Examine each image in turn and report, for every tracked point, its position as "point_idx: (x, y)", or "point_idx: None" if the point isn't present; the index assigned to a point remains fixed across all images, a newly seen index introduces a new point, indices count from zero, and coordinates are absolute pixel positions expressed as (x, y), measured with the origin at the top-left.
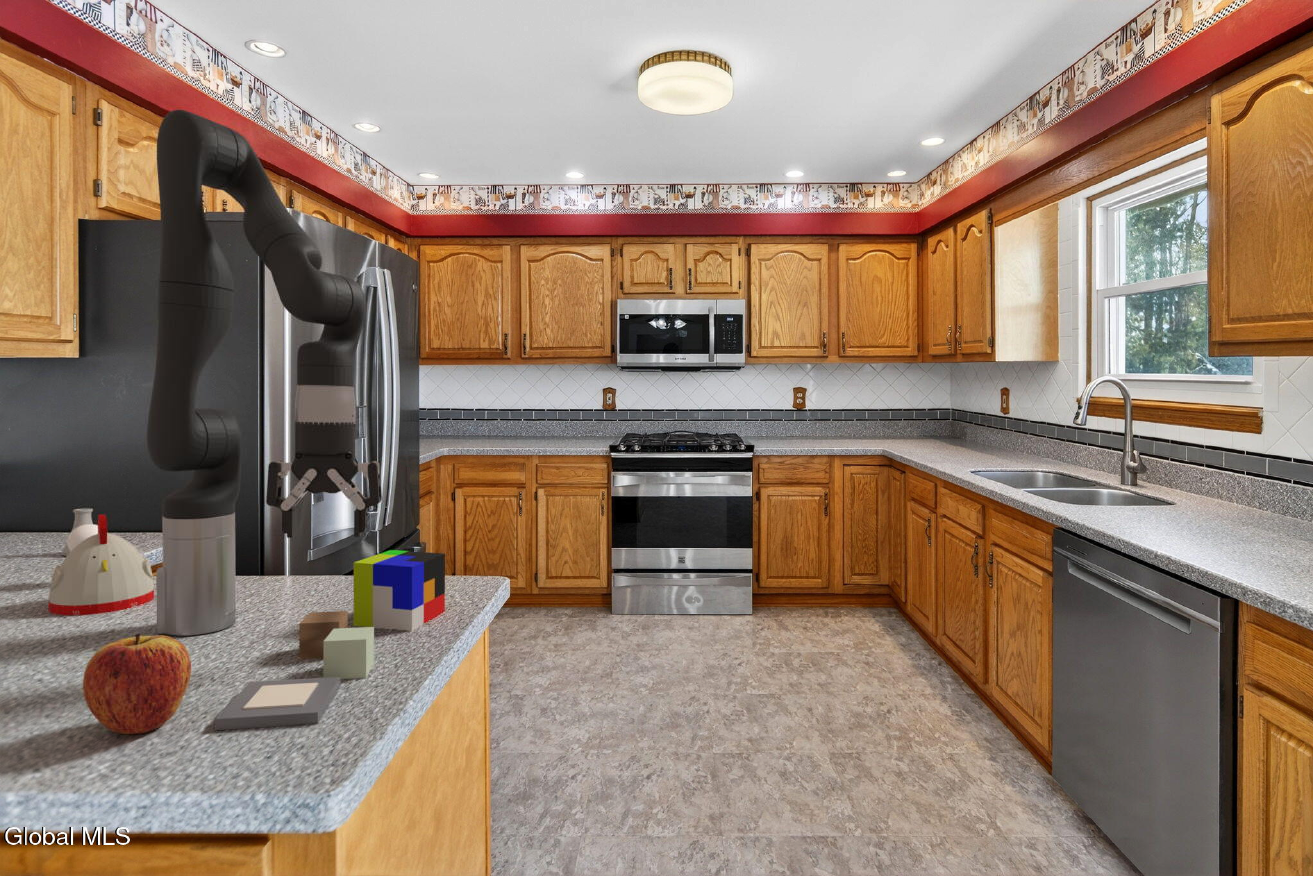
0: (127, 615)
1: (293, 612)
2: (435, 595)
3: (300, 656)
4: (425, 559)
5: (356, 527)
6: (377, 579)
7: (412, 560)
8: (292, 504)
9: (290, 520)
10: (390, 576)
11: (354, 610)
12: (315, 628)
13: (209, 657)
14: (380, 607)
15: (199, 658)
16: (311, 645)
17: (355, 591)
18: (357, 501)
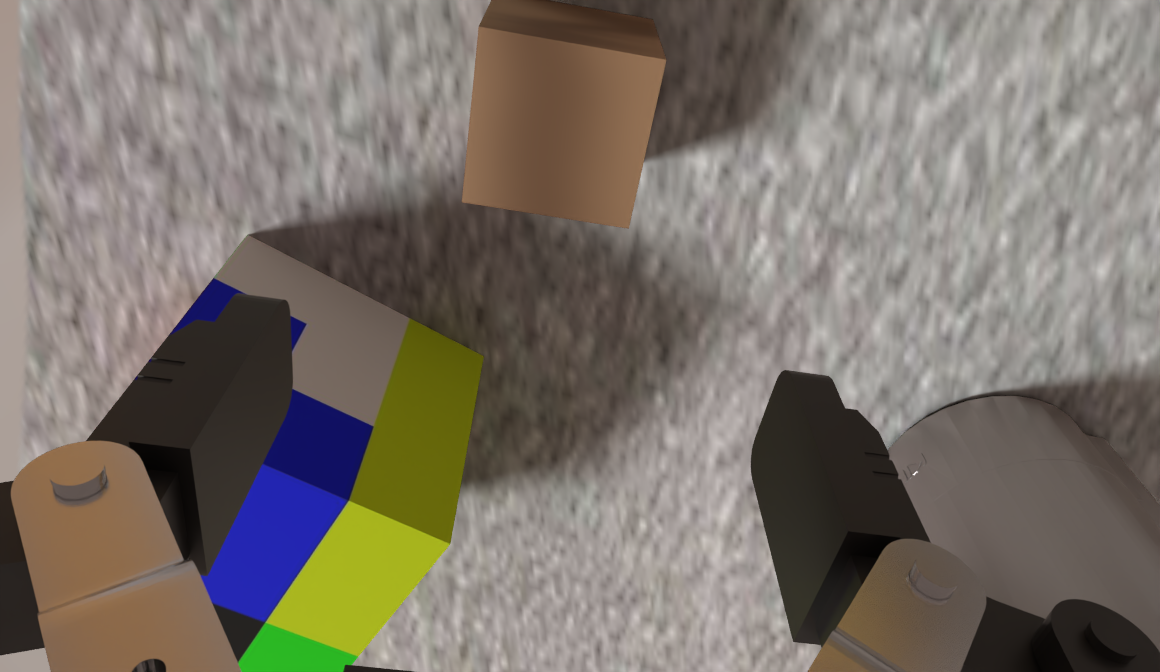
0: None
1: (695, 535)
2: None
3: (649, 22)
4: None
5: (235, 334)
6: (343, 436)
7: None
8: (868, 584)
9: (837, 464)
10: None
11: (473, 391)
12: (591, 40)
13: (970, 156)
14: (360, 350)
15: (1004, 155)
16: (607, 24)
17: (459, 440)
18: (89, 524)
